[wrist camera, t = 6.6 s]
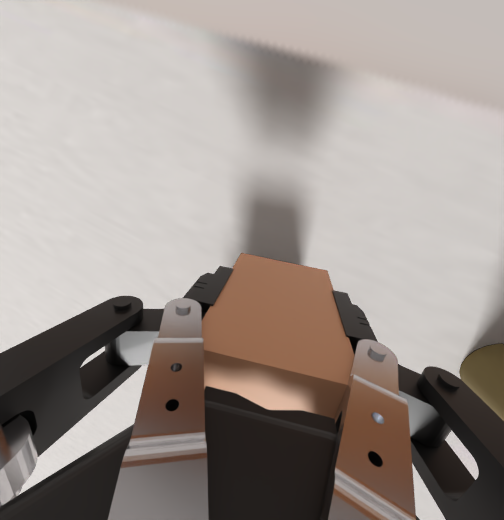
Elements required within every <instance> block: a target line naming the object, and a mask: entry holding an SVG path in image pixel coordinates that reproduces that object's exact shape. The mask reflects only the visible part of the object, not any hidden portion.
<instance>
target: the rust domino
mask: <svg viewBox="0 0 504 520" xmlns="http://www.w3.org/2000/svg"><path fill="white" fill-rule="evenodd" d="M232 269H234V270H233V272H232V273H231V275H230V277H229V279H228V281H227V282H226V284H225V286H224V288H223V289H222V291H221V293H220V295H219V297H218V298H217V300H216V302H215V304H214V305H213V306H210V308H209V309H208V311H207V313H206V314H205V316H204V318H203V320H202V338H203V345H204V389H205V387H206V386H209V387H213V388H217V389H221V390H225V391H229V392H233V393H237V394H239V395H240V396H242V397H244V398H246V399H248V400H250V401H252V402H254V403H256V404H258V405H260V406H261V407H263V408H265V409H268V410H303V411H307V412H311V413H315V414H319V415H323V416H326V417H330V418H334V416H335V414H336V412H337V409H338V407H339V405H340V402H341V400H342V397H343V394H344V392H345V390H346V387H347V385H348V381H349V376H350V372H351V367H352V362H353V358H354V352H353V349H352V346H351V343H350V340H349V338H348V337H346V335H345V332H344V329H343V326H342V322H341V319H340V316H339V312H338V309H337V306H336V303H335V299H334V296H333V293H332V290H333V287H332V284H331V281H330V278H329V275H328V272H327V271H326V270H321V269H317V268H312V267H307V266H302V265H297V264H293V263H288V262H283V261H278V260H273V259H268V258H264V257H259V256H254V255H249V254H244V253H241V254H240V256H239V258H238V259H237V261H236V263H235V265H234V266H233V268H232Z"/></svg>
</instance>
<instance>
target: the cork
mask: <svg viewBox="0 0 504 520" xmlns="http://www.w3.org/2000/svg"><path fill="white" fill-rule="evenodd" d="M459 373H460V377H461V380H462V381H463V382H464V383H465V384H466V385H467V386H468V387H469V388H470V389H471V390H472V391H473V392H474V393H476V394H477V395H478V396H479V397H480V398H481V399H482V400H483V401H484V402H485V403H486V404H487V405H488V406H489V407H490V408H491V409H492V410H493V411H494V412H495V413H496V414H497V415H498V416H499V417H500V418H501V419H502V420H503V421H504V344H494V345H489V346H485V347H483V348H480V349H478V350H476V351H474V352H473V353H471V354H470V355H469V356H467V357H466V359H465V360H464V361H463V363H462V364H461V367H460V372H459Z"/></svg>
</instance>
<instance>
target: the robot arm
mask: <svg viewBox="0 0 504 520" xmlns="http://www.w3.org/2000/svg"><path fill="white" fill-rule="evenodd" d="M233 270H234V269H232V268H227V267H222V266H220V267H219V268H218V269H217V271H216V272H215V274H211V273H207V274H204V275H202V276H200V278H199V279H198V280H197V281H196V282H195V284H194V285H193V286H192V287H191V289H190V290H189V291H188V292H187V293H186V295H185V296H184V297H183V298H178V299H174V300H171V301H170V302H168V303H167V304H166V305H165V308H164V309H143V302H142V301H141V300H140V299H139V298H136V297H133V296H119V297H115V298H112V299H109V300H107V301H105V302H103V303H101V304H99V305H97V306H95V307H93V308H91V309H89V310H87V311H85V312H83V313H81V314H79V315H77V316H75V317H73V318H71V319H69V320H67V321H65V322H63V323H61V324H59V325H57V326H55V327H53V328H51V329H49V330H47V331H45V332H43V333H41V334H38V335H36V336H34V337H32V338H30V339H28V340H26V341H24V342H22V343H20V344H18V345H16V346H14V347H12V348H10V349H8V350H6V351H4V352H2V353H0V520H419V518H418V517H417V516H416V513H415V498H414V484H413V469H412V463H413V465H414V466H415V468H416V470H417V471H418V473H419V475H420V477H421V478H422V480H423V482H424V483H425V485H426V487H427V488H428V490H429V492H430V493H431V495H432V497H433V499H434V500H435V502H436V504H437V505H438V507H439V509H440V510H441V512H442V514H443V515H444V517H445V519H446V520H504V421H503V420H502V419H501V418H500V417H499V416H498V415H497V414H496V413H495V412H494V411H493V410H492V409H491V408H490V407H489V406H488V405H487V404H486V403H485V402H484V401H483V400H482V399H481V398H480V397H479V396H478V395H477V394H476V393H474V392H473V391H472V390H471V389H470V388H469V387H468V386H467V385H466V384H465V383H464V382H463V381H462V380H461V379H459V378H458V377H456V376H455V375H453V374H452V373H450V372H448V371H446V370H443V369H441V368H438V367H426V368H425V369H424V371H423V372H422V374H419V373H416V372H414V371H412V370H409V369H407V368H405V367H403V366H401V365H399V364H398V360H397V357H396V356H395V354H394V353H393V352H392V351H391V350H390V349H389V348H388V347H386V346H385V345H383V344H381V343H379V342H378V341H377V339H376V337H375V335H374V333H373V331H372V329H371V327H370V326H369V322H368V320H367V318H366V316H365V314H364V312H363V311H362V310H361V309H360V308H359V307H358V306H357V305H353V304H352V303H351V301H350V299H349V296H348V294H347V293H343V292H339V291H334V290H332V293H333V296H334V299H335V303H336V306H337V309H338V312H339V316H340V319H341V322H342V326H343V329H344V332H345V335H346V337H348V338H349V340H350V343H351V346H352V349H353V352H354V358H353V362H352V367H351V372H350V376H349V381H348V385H347V387H346V390H345V392H344V394H343V397H342V400H341V402H340V405H339V407H338V409H337V412H336V414H335V416H334V418H330V417H326V416H323V415H319V414H315V413H311V412H307V411H303V410H268V409H265V408H263V407H261V406H260V405H258V404H256V403H254V402H252V401H250V400H248V399H246V398H244V397H242V396H240V395H239V394H237V393H233V392H229V391H225V390H221V389H217V388H213V387H209V386H206V387H205V389H204V345H203V338H202V320H203V318H204V316H205V314H206V313H207V311H208V309H209V308H210V306H213V305H214V304H215V302H216V300H217V298H218V297H219V295H220V293H221V291H222V289H223V288H224V286H225V284H226V282H227V281H228V279H229V277H230V275H231V273H232V272H233ZM104 346H105V351H104V352H103V353H101V354H100V355H98V356H97V357H95V358H94V359H93V360H91V361H90V362H88V363H87V364H85V365H84V366H82V367H81V365H82V363H83V362H84V361H85V360H86V358H88V357H89V356H90V355H92V354H93V353H95V352H96V351H98V350H99V349H101V348H102V347H104ZM142 365H148V368H147V372H146V376H145V381H144V385H143V389H142V393H141V397H140V402H139V406H138V410H137V414H136V419H135V423H134V424H133V425H132V426H130V427H129V428H127V429H125V430H124V431H122V432H120V433H119V434H117V435H116V436H114V437H112V438H111V439H109V440H107V441H106V442H104V443H103V444H101V445H99V446H98V447H96V448H94V449H93V450H91V451H90V452H88V453H86V454H85V455H83V456H81V457H80V458H78V459H77V460H75V461H73V462H72V463H70V464H68V465H67V466H65V467H64V468H62V469H60V470H59V471H57V472H55V473H54V474H52V475H51V476H49V477H47V478H46V479H44V480H42V481H41V482H39V483H38V484H36V485H34V486H33V487H31V488H29V489H28V490H26V491H25V492H23V493H21V494H20V495H18V494H19V493H20V491H21V489H22V485H23V484H24V483H25V482H26V481H27V479H28V478H29V477H30V475H31V474H32V472H33V470H34V468H35V466H36V463H37V457H39V456H40V455H41V454H42V453H43V452H44V451H45V450H47V449H48V448H49V447H50V446H51V445H52V444H53V443H55V442H56V441H57V440H58V439H59V438H60V437H61V436H63V435H64V434H65V433H66V432H67V431H68V430H69V429H71V428H72V427H73V426H74V425H75V424H76V423H77V422H79V421H80V420H81V419H82V418H83V417H84V416H85V415H87V414H88V413H89V412H90V411H91V410H92V409H93V408H95V407H96V406H97V405H98V404H99V403H100V402H101V401H103V400H104V399H105V398H106V397H107V396H108V395H109V394H111V393H112V392H113V391H114V390H115V389H116V388H117V387H119V386H120V385H121V384H122V383H123V382H124V381H125V380H127V379H128V378H129V377H130V376H131V375H132V374H134V373H135V372H136V371H137V370H138V369H139V368H140V367H141V366H142ZM80 367H81V368H80ZM451 430H452V431H453V432H454V433H455V435H456V436H457V437H458V438H459V440H460V441H461V442H462V443H463V445H464V446H465V447H466V448H467V449H468V451H469V452H470V453H471V454H472V456H473V457H474V459H475V461H476V463H477V465H478V469H479V476H478V478H477V479H476V480H475V479H474V478H473V476H472V475H471V474H470V472H469V471H468V470H467V468H466V467H465V466H464V464H463V463H462V462H461V460H460V459H459V458H458V456H457V455H456V454H455V452H454V451H453V450H452V448H451V447H450V446H449V445H448V443H447V442H446V441H445V439H446V437H447V436H448V434H449V433H450V432H451Z"/></svg>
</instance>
